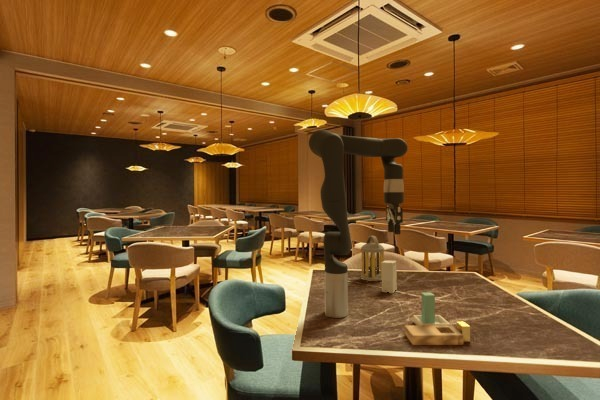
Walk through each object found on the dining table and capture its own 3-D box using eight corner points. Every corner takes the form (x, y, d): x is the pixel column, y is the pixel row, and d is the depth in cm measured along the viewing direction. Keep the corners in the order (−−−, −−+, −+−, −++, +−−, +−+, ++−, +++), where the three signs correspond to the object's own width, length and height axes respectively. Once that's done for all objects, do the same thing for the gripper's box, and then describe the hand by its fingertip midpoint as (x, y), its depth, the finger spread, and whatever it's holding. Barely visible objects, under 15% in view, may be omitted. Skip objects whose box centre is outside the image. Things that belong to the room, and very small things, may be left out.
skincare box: (393, 293, 157) (393, 263, 156) (381, 292, 160) (380, 262, 159) (397, 289, 164) (397, 260, 164) (385, 287, 167) (385, 259, 167)
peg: (425, 326, 115) (424, 295, 115) (421, 322, 118) (421, 292, 118) (435, 326, 115) (434, 295, 115) (431, 322, 118) (431, 292, 118)
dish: (422, 331, 112) (422, 324, 112) (413, 321, 121) (413, 315, 121) (450, 331, 112) (450, 324, 112) (439, 321, 121) (439, 314, 121)
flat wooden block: (412, 344, 102) (412, 335, 102) (404, 334, 110) (404, 325, 110) (463, 344, 102) (463, 335, 102) (451, 334, 110) (451, 325, 110)
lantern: (356, 277, 190) (355, 234, 190) (377, 275, 195) (376, 233, 194) (368, 283, 177) (367, 237, 177) (390, 280, 181) (390, 236, 181)
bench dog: (462, 341, 104) (462, 326, 104) (456, 336, 108) (456, 321, 108) (470, 341, 104) (469, 326, 104) (463, 336, 108) (463, 321, 108)
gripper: (409, 190, 117) (409, 235, 117) (397, 191, 132) (398, 231, 132) (388, 191, 117) (389, 235, 117) (379, 191, 132) (379, 231, 132)
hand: (393, 233), depth 125 cm, fingers open, 8 cm apart
